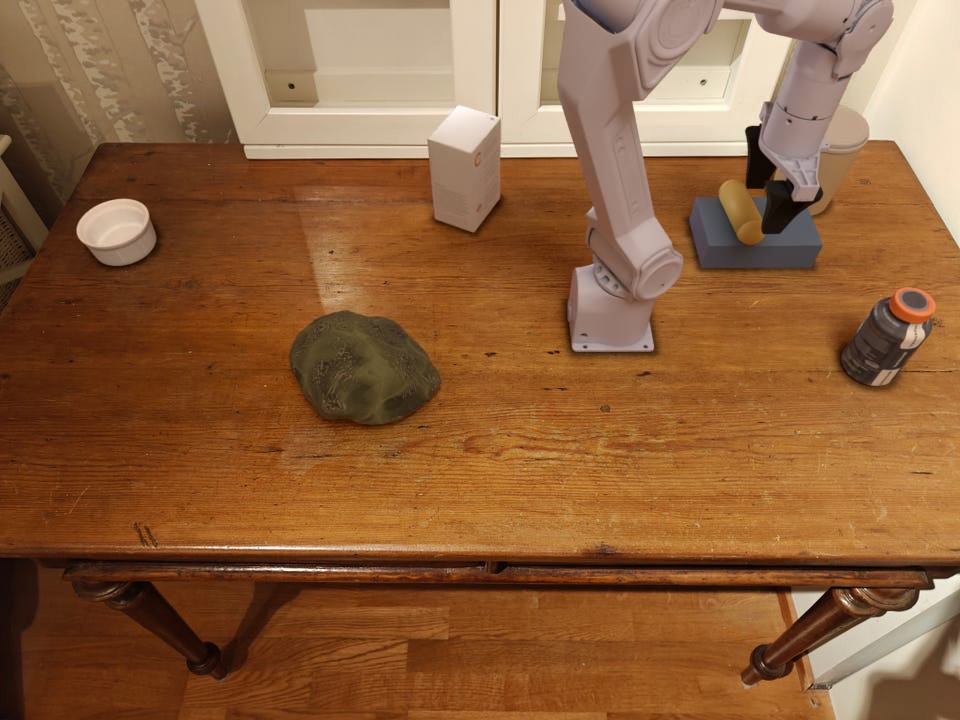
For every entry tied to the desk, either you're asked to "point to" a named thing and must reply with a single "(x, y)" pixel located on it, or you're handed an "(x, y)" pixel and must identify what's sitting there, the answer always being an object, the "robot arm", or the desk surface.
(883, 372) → the pill bottle
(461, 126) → the small box
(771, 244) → the block
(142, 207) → the ramekin
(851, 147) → the coffee cup
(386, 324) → the decorative rock
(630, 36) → the robot arm
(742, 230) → the yellow capsule pill
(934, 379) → the desk surface
